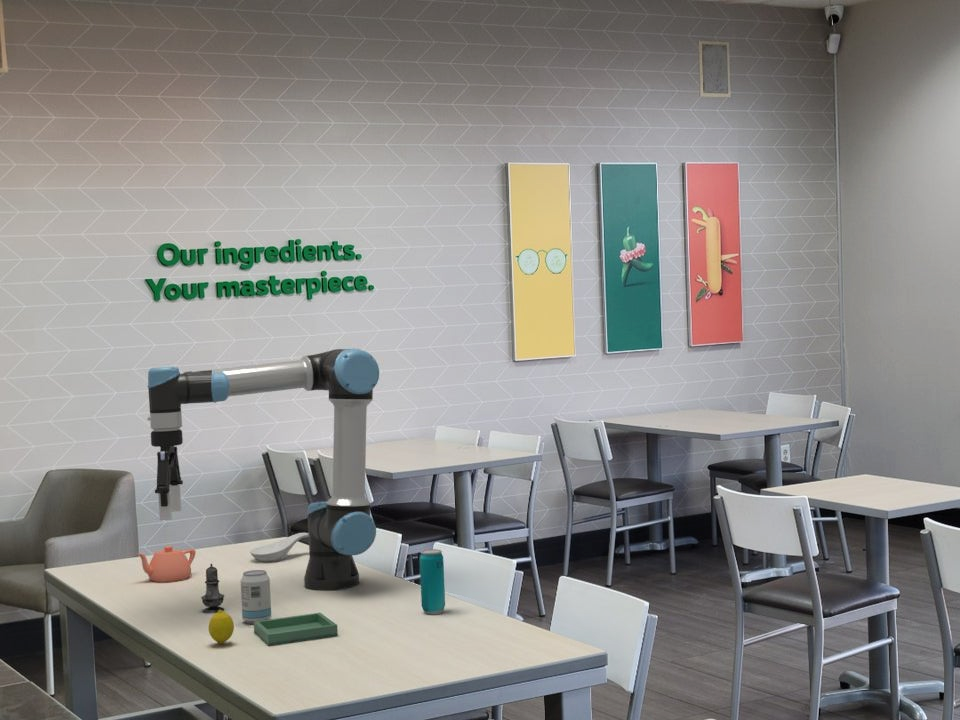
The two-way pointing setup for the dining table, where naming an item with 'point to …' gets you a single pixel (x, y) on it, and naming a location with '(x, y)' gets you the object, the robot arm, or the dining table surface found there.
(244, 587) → the beverage can
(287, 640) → the tray
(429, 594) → the beverage can
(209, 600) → the salt shaker
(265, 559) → the spoon rest
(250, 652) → the dining table surface
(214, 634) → the fruit
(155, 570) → the teapot
